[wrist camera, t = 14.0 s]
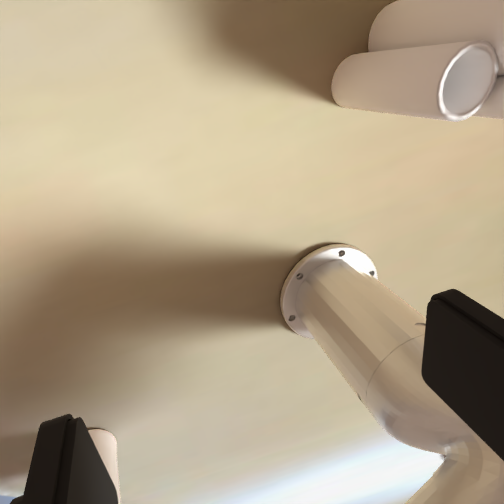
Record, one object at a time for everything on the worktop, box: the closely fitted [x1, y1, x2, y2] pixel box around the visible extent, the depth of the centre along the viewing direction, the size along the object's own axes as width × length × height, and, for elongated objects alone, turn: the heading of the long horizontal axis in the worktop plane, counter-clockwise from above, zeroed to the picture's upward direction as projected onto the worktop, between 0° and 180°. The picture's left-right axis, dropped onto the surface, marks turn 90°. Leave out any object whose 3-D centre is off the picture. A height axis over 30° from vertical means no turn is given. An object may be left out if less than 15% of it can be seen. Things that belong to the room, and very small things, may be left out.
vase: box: [331, 0, 504, 122], centre depth 28 cm, size 11×7×20 cm, turn 141°
